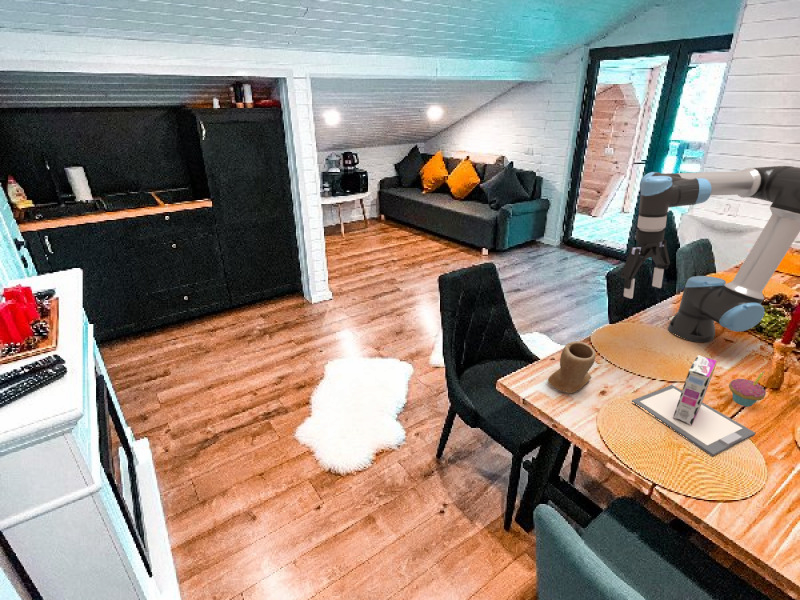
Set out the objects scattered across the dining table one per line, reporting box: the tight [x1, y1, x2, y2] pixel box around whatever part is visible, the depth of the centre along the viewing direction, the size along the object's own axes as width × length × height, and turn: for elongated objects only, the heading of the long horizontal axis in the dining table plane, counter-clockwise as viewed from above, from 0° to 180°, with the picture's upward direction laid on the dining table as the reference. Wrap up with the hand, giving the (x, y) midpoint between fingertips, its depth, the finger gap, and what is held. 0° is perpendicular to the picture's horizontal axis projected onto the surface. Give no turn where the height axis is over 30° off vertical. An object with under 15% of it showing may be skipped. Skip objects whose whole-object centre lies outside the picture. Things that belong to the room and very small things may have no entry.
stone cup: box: [547, 340, 596, 394], centre depth 134 cm, size 15×12×15 cm
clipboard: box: [631, 384, 756, 457], centre depth 120 cm, size 18×24×2 cm
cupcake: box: [728, 371, 766, 408], centre depth 124 cm, size 9×8×12 cm
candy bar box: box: [673, 354, 718, 425], centre depth 118 cm, size 11×5×16 cm, turn 136°
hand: (642, 291), depth 138 cm, fingers open, 13 cm apart
